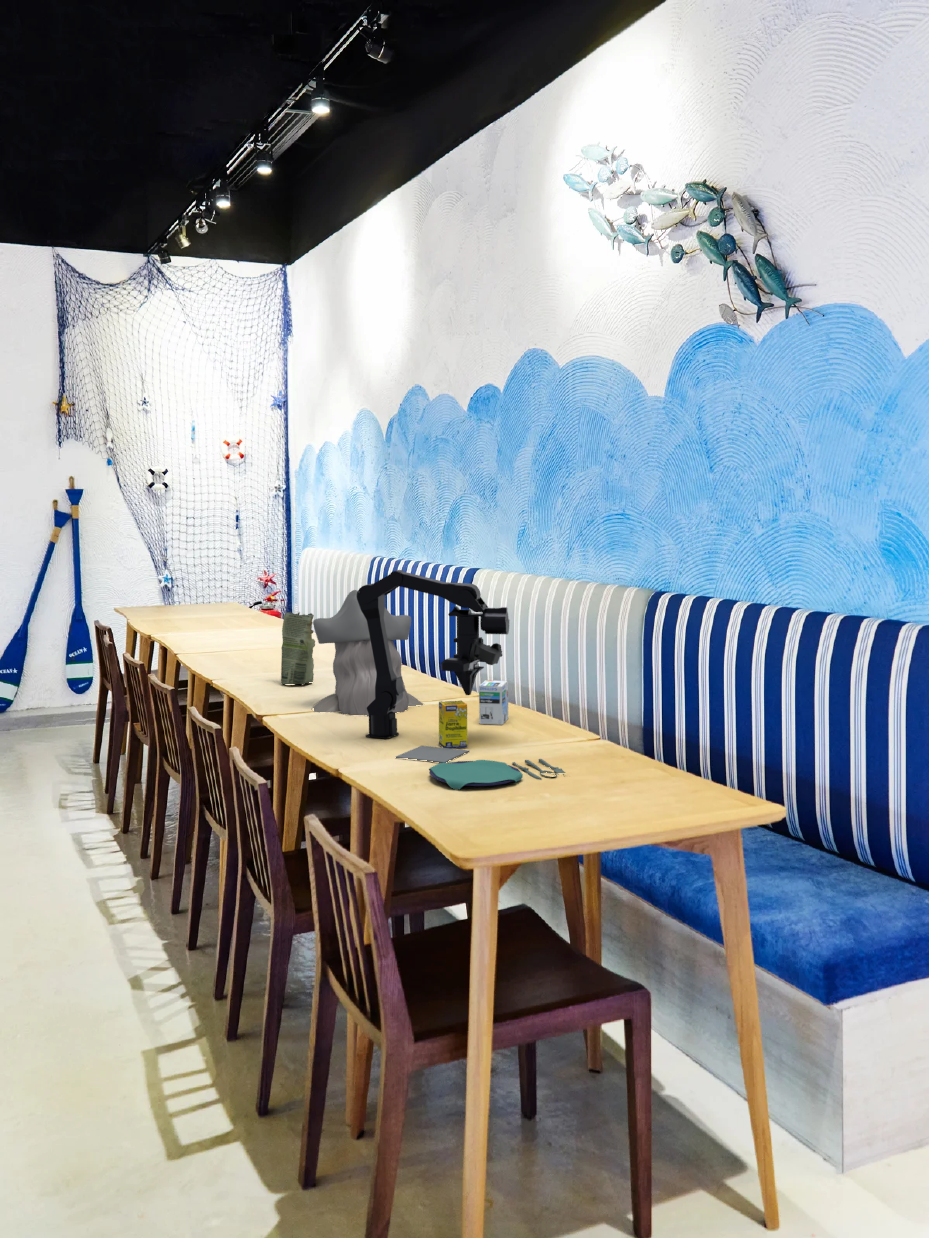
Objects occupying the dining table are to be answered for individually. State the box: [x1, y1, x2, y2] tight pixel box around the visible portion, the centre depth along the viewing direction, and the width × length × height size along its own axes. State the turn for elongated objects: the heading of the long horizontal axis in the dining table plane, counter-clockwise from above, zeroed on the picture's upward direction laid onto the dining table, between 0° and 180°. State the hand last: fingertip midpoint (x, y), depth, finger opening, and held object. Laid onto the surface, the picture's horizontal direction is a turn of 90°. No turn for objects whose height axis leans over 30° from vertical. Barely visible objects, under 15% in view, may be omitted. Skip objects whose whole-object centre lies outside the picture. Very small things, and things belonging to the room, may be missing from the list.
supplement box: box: [438, 700, 468, 749], centre depth 253 cm, size 6×6×11 cm
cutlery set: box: [428, 758, 566, 790], centre depth 224 cm, size 20×30×2 cm, turn 111°
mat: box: [395, 745, 470, 764], centre depth 244 cm, size 13×13×1 cm
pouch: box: [280, 611, 316, 685], centre depth 349 cm, size 11×12×25 cm
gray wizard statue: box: [312, 589, 424, 717], centre depth 307 cm, size 34×34×35 cm
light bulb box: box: [478, 679, 509, 726], centre depth 284 cm, size 11×7×11 cm, turn 168°
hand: (468, 695), depth 261 cm, fingers closed
